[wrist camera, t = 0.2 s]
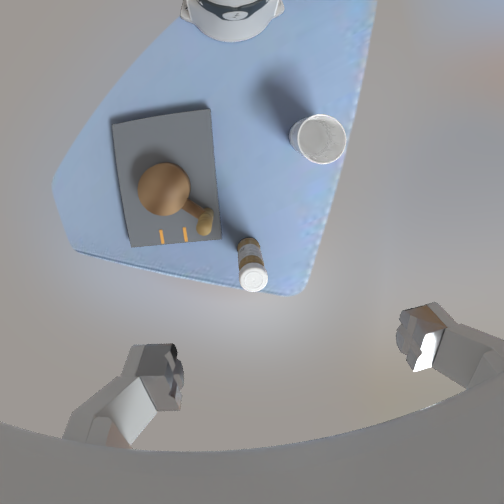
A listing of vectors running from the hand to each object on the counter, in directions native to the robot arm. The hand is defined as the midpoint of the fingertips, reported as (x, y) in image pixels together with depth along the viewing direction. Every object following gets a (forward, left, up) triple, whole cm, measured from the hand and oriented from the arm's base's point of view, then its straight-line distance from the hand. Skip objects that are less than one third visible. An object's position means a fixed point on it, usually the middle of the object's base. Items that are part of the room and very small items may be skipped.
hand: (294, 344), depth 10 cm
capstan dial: (+4, -12, -45) cm, 46 cm away
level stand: (+1, -14, -47) cm, 49 cm away
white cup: (-5, +12, -47) cm, 49 cm away
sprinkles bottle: (+16, 0, -47) cm, 50 cm away
